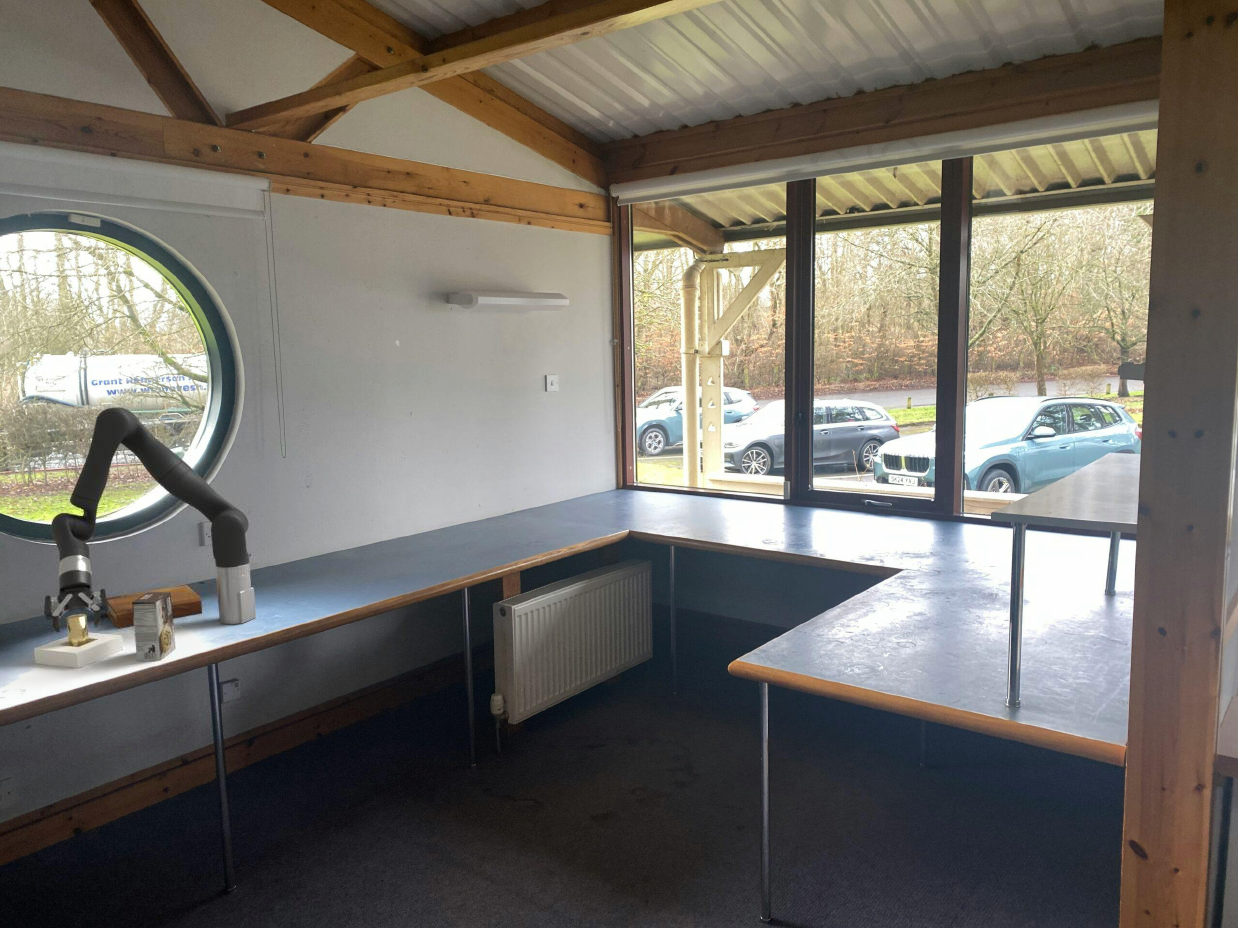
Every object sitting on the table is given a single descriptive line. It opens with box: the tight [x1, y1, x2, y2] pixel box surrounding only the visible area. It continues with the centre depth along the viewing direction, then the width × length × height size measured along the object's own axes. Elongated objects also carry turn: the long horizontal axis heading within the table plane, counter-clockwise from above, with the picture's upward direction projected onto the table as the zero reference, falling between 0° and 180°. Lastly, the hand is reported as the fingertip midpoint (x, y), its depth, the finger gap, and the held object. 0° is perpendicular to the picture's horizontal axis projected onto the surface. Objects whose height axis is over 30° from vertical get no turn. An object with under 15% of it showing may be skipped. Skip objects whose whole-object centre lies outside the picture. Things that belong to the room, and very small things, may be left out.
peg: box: [66, 613, 89, 647], centre depth 229 cm, size 4×4×11 cm
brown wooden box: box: [106, 584, 203, 630], centre depth 266 cm, size 23×19×6 cm
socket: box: [33, 631, 124, 669], centre depth 229 cm, size 14×14×4 cm
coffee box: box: [132, 592, 176, 662], centre depth 229 cm, size 9×6×16 cm
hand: (77, 628), depth 227 cm, fingers open, 8 cm apart
